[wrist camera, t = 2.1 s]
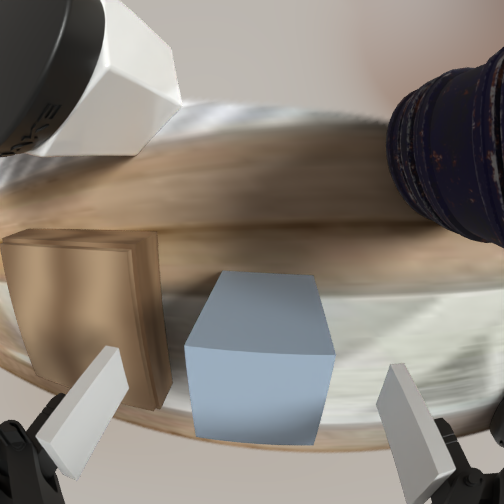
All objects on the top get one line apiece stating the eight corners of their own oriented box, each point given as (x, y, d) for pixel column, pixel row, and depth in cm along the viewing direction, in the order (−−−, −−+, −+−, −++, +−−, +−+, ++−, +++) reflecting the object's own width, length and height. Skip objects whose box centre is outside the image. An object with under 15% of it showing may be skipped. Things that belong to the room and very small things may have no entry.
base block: (157, 231, 20) (130, 247, 16) (172, 382, 23) (158, 414, 19) (28, 228, 21) (-3, 240, 17) (56, 355, 24) (35, 377, 20)
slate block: (313, 275, 20) (335, 355, 11) (304, 350, 21) (313, 445, 13) (222, 270, 20) (183, 345, 11) (223, 345, 22) (196, 436, 13)
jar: (65, 142, 18) (-66, 147, 7) (96, 42, 16) (-16, -9, 4) (165, 167, 18) (30, 180, 7) (203, 51, 16) (120, -54, 5)
